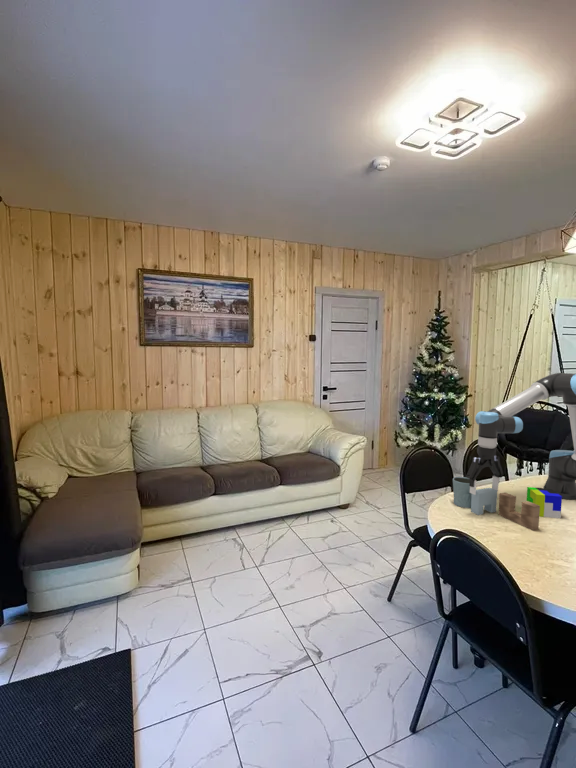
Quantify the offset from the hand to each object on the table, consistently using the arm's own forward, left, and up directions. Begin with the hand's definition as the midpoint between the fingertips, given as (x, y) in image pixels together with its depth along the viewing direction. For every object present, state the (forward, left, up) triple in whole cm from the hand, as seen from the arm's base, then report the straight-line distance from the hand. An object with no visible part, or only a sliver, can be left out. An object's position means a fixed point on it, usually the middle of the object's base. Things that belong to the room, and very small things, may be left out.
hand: (483, 492), depth 172 cm
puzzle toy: (-25, +10, -10) cm, 29 cm away
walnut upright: (-5, +13, -9) cm, 17 cm away
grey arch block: (0, 0, -9) cm, 9 cm away
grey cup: (+2, -10, -9) cm, 14 cm away
